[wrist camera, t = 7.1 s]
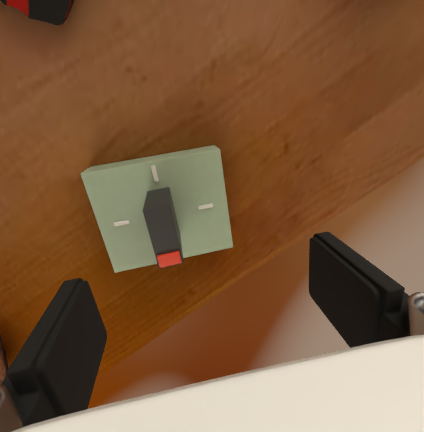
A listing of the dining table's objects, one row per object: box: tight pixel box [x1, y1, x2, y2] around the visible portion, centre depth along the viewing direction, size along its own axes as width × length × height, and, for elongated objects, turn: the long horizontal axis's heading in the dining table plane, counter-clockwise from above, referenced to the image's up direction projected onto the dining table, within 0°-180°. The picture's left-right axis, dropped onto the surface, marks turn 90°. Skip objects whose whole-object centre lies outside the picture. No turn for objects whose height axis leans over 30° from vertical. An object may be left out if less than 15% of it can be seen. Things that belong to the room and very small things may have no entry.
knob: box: [143, 187, 184, 268], centre depth 22 cm, size 5×2×5 cm, turn 9°
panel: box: [81, 145, 233, 273], centre depth 26 cm, size 12×10×3 cm
